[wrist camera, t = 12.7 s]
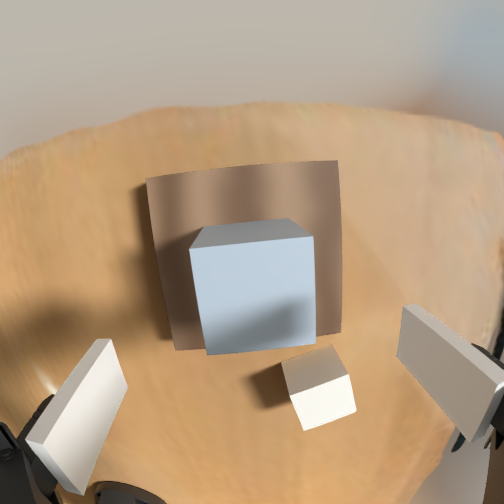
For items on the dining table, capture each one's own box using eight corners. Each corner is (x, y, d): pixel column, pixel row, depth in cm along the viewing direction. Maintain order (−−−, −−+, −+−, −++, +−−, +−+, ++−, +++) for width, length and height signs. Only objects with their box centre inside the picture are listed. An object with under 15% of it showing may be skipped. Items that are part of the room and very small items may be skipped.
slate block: (214, 305, 26) (207, 355, 18) (203, 226, 24) (189, 248, 16) (293, 296, 26) (315, 343, 18) (288, 218, 24) (313, 236, 17)
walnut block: (181, 330, 31) (175, 350, 27) (157, 178, 27) (145, 178, 23) (329, 315, 31) (340, 332, 27) (324, 162, 27) (337, 160, 24)
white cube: (294, 396, 33) (304, 430, 27) (280, 361, 32) (289, 395, 26) (341, 379, 33) (356, 411, 27) (331, 343, 32) (348, 373, 26)
